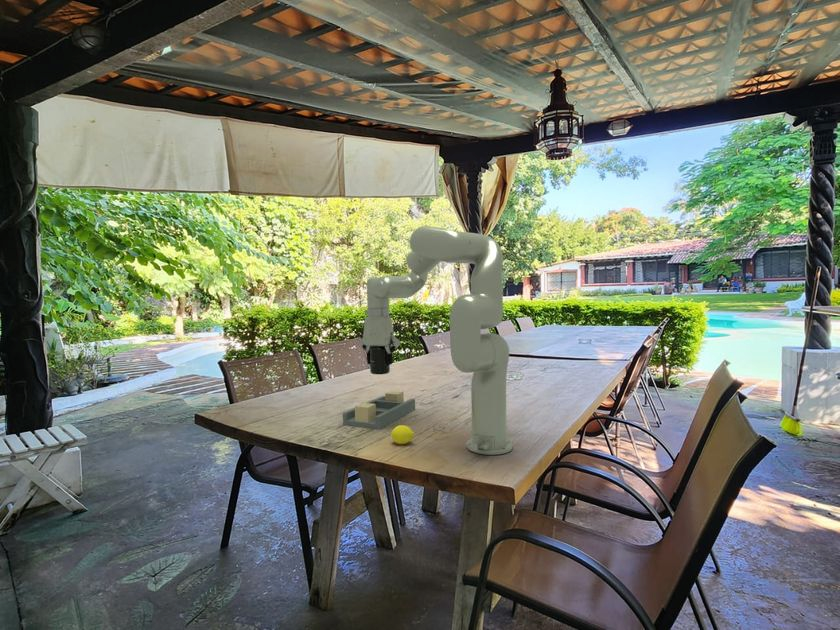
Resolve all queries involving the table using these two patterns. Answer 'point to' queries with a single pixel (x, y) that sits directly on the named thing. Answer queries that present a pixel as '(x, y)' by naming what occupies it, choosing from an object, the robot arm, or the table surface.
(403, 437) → the lemon
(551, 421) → the table surface
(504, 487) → the table surface
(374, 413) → the rail rack
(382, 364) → the supplement bottle
